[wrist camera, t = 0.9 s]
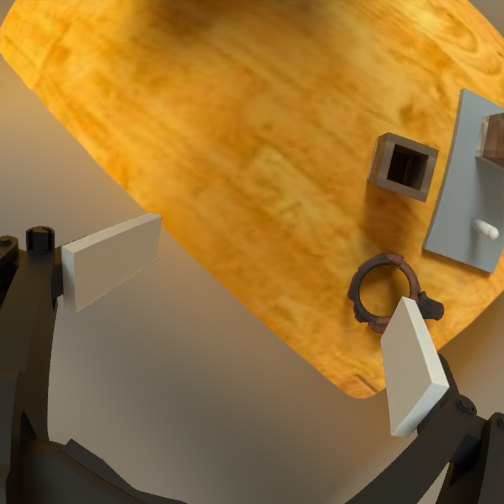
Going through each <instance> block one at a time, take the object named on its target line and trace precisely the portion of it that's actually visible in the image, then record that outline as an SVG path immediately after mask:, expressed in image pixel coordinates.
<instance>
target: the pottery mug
mask: <svg viewBox="0 0 504 504" xmlns="http://www.w3.org/2000/svg"><path fill="white" fill-rule="evenodd" d="M402 259H403V256H401V255H398V254H394V253H388V254H386V253H382V254H379V255H376V256H374V257H372V258H370V259H369V260H367V261H366V262H364V263H363V264H362V265H361V266H360V267H359V268H358V270H359V271H358V272H356V273H355V274H354V276H353V278H352V282H351V285H350V288H349V291H348V295H347V297H349V299H351V300H352V301H353V302H354V307H353V308H354V309H353V311H354V313H355V318H356V319H357V321H358V322H360V323H362V322H368V325H370V326H372V330H373V331H375V332H377V333H384V332H385V330H386V328H387V326H388V324H389V322H390V320H391V318H392V316H393V315H392V316H388V317H380V316H375V315H373V314H371V313H369V312H368V311H367V310H366V309H365V308H364V306H363V305H362V303H361V300H360V297H359V289H360V285H361V282H362V280H363V278H364V277H365V275H366V274H367V273H368V272H369V271H371V270H372V269H374V268H375V267H378V266H382V265H390V264H394V265H397V266H398V267H399V269H400V270H401V271H402V272H403V273H404V274H405V275H406V277H407V278H408V281H409V284H410V296H409V299H412V300H415V302H416V304H417V306H418V309H419V311H420V313H421V315H422V318H423V319H435V320H437V321H438V320H440V319H441V318H442V316H443V314H444V307H443V304H442V303H440V302H437V301H434V300H432V299H430V298H428V297H427V296H426V293H425V291H423V292H420V291H421V288H420V285H419V282H418V279H417V276H416V275H415V273H414V271H413V270H412V268H411V267H410V266H409V265H408V264H407V263H406V262H405V261H404V260H402Z"/></svg>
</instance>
